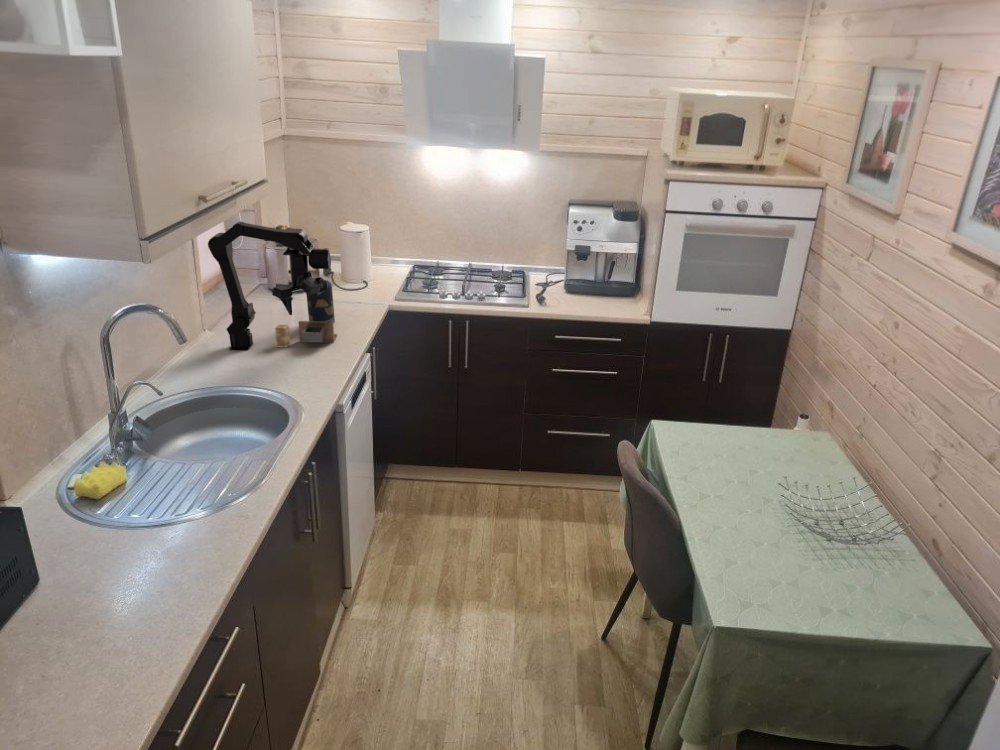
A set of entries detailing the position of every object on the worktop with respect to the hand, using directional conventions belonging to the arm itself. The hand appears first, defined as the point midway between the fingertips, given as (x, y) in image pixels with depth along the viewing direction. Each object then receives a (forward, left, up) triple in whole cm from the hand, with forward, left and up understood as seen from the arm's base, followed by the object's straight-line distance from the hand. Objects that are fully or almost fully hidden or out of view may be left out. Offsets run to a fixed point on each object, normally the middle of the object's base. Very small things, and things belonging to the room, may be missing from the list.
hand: (302, 312), depth 241 cm
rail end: (-8, +2, -13) cm, 15 cm away
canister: (+1, +22, -13) cm, 26 cm away
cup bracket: (+3, +5, -13) cm, 14 cm away
